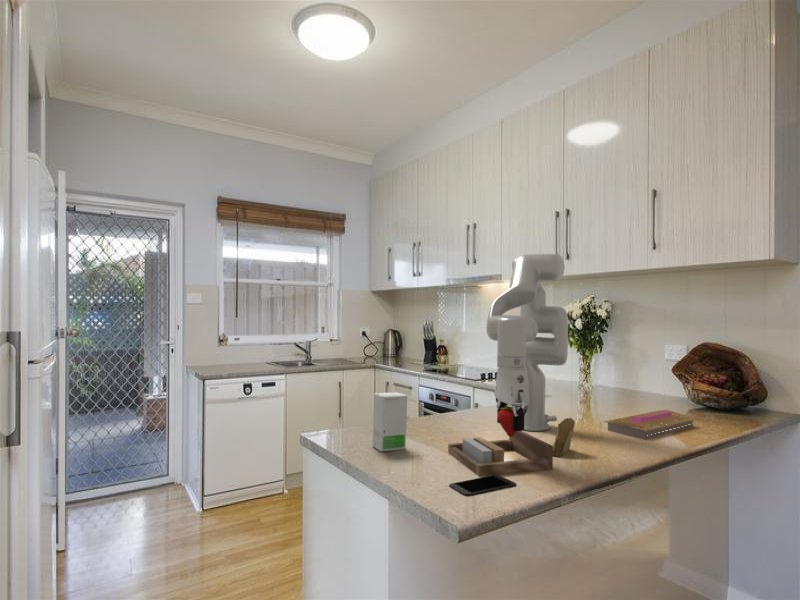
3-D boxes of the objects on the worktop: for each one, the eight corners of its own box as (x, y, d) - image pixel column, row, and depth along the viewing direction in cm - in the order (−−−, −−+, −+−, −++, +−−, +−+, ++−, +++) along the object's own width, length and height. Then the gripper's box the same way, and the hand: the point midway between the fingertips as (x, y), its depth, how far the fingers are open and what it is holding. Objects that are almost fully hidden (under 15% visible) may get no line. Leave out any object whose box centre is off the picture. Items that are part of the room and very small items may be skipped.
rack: (513, 447, 138) (513, 427, 138) (552, 469, 120) (552, 445, 120) (448, 452, 132) (448, 431, 132) (478, 476, 114) (479, 451, 114)
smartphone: (446, 486, 107) (446, 482, 107) (497, 476, 115) (497, 473, 115) (465, 499, 101) (466, 494, 101) (518, 487, 108) (518, 483, 108)
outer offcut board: (470, 455, 130) (470, 438, 130) (491, 470, 118) (491, 450, 119) (462, 456, 129) (462, 438, 129) (482, 471, 118) (482, 451, 118)
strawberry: (513, 442, 123) (513, 404, 123) (492, 435, 129) (492, 399, 129) (528, 438, 126) (528, 401, 126) (507, 432, 132) (507, 396, 132)
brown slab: (656, 420, 181) (656, 404, 181) (696, 428, 169) (697, 411, 169) (603, 431, 161) (604, 413, 161) (645, 442, 149) (645, 422, 149)
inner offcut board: (481, 455, 131) (481, 437, 131) (503, 469, 120) (504, 449, 120) (473, 455, 130) (473, 437, 130) (495, 470, 119) (495, 450, 119)
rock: (565, 452, 127) (589, 443, 132) (548, 423, 131) (572, 415, 136) (542, 466, 135) (566, 457, 139) (527, 438, 139) (551, 430, 144)
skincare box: (380, 452, 131) (382, 396, 131) (371, 446, 136) (372, 392, 137) (407, 449, 134) (408, 394, 135) (396, 442, 140) (397, 391, 141)
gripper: (541, 366, 120) (540, 434, 120) (507, 358, 137) (506, 418, 137) (516, 367, 118) (515, 436, 118) (484, 358, 135) (483, 419, 135)
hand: (510, 426), depth 127 cm, fingers closed on strawberry, 7 cm apart
